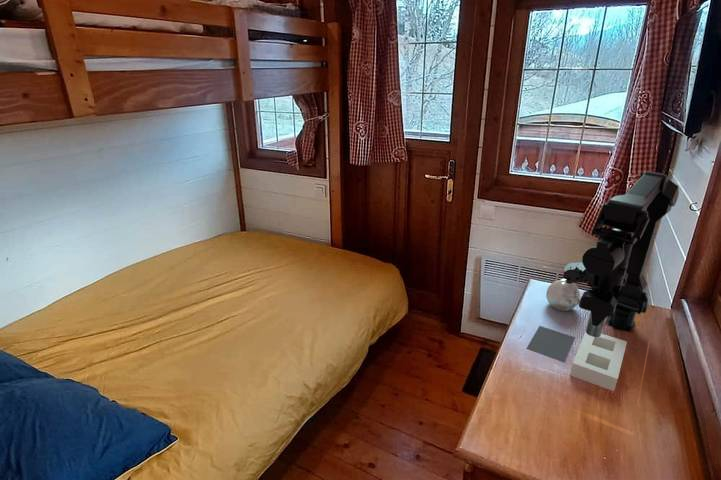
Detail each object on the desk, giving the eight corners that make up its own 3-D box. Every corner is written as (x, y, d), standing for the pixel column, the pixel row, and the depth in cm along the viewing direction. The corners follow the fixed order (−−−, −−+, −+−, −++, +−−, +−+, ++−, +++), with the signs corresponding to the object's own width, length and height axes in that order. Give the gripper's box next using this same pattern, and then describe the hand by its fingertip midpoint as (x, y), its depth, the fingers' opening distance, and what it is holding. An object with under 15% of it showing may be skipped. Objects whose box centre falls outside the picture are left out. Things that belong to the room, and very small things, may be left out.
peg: (587, 327, 100) (596, 289, 96) (601, 332, 99) (611, 294, 95) (584, 333, 98) (593, 295, 94) (599, 338, 96) (609, 299, 92)
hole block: (583, 342, 112) (586, 329, 110) (623, 354, 107) (627, 341, 105) (569, 376, 100) (572, 363, 98) (613, 393, 95) (617, 379, 93)
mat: (539, 327, 118) (539, 325, 117) (575, 339, 113) (575, 337, 113) (525, 350, 109) (526, 348, 108) (564, 364, 104) (564, 362, 104)
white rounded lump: (541, 312, 124) (547, 282, 120) (546, 297, 132) (552, 268, 128) (575, 321, 120) (583, 290, 116) (579, 305, 128) (586, 275, 124)
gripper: (581, 236, 102) (568, 293, 108) (559, 264, 89) (546, 328, 95) (635, 247, 96) (618, 308, 102) (621, 280, 82) (603, 348, 89)
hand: (596, 322), depth 97 cm, fingers closed on peg, 3 cm apart
